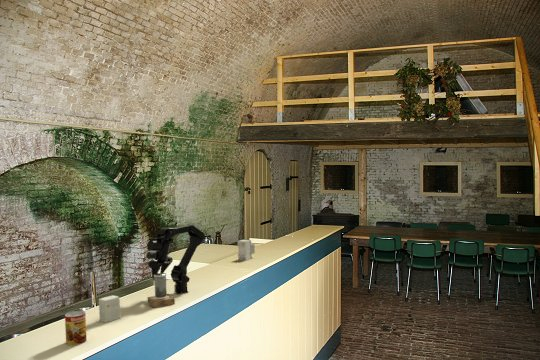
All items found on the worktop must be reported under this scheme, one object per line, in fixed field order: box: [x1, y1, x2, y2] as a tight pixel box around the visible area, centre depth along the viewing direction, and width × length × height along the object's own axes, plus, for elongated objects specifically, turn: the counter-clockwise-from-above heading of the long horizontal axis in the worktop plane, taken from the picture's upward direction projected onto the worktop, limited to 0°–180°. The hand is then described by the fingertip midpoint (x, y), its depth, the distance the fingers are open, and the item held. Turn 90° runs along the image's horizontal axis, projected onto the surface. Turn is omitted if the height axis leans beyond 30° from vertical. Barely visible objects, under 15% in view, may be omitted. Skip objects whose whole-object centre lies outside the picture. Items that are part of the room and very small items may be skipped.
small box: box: [98, 294, 121, 323], centre depth 213 cm, size 8×6×10 cm
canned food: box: [64, 310, 88, 347], centre depth 185 cm, size 8×8×12 cm
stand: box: [147, 293, 176, 309], centre depth 237 cm, size 12×12×3 cm
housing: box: [153, 272, 168, 300], centre depth 237 cm, size 7×7×12 cm
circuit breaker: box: [237, 239, 256, 262], centre depth 355 cm, size 8×14×15 cm, turn 148°
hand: (157, 276), depth 250 cm, fingers open, 9 cm apart
